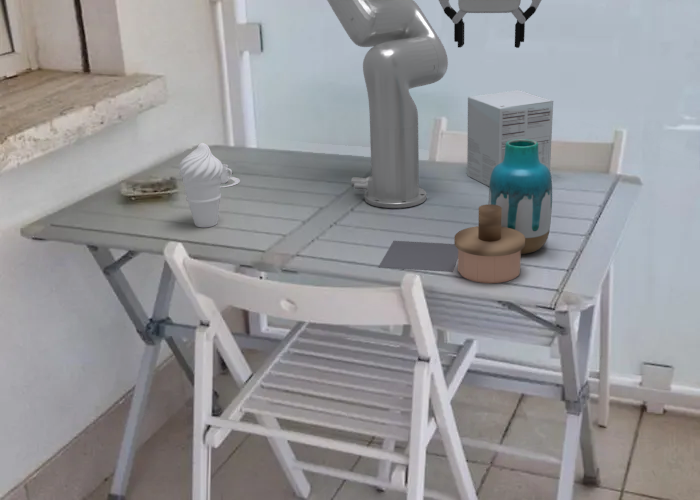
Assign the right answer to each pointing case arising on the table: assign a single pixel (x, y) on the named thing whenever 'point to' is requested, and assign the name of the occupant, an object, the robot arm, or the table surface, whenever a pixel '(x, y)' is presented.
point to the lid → (489, 235)
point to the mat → (421, 256)
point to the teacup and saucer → (225, 176)
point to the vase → (523, 192)
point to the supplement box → (505, 128)
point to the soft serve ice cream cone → (202, 185)
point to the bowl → (489, 267)
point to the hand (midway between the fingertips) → (489, 46)
